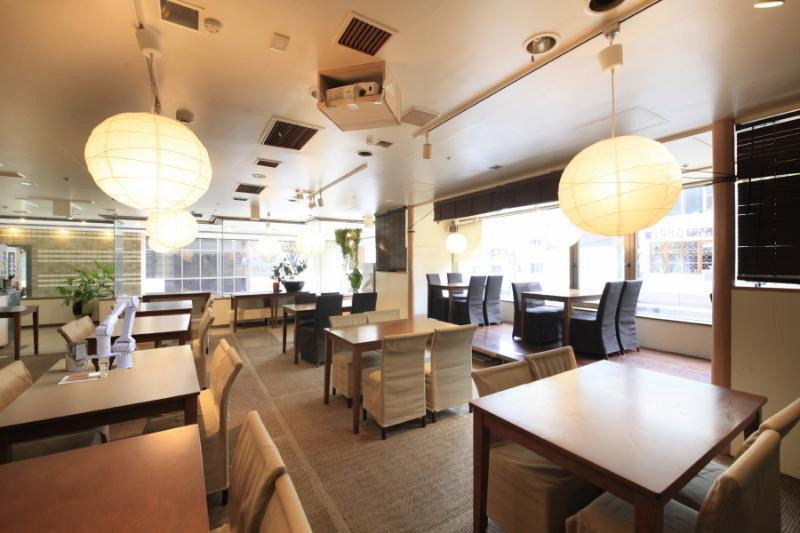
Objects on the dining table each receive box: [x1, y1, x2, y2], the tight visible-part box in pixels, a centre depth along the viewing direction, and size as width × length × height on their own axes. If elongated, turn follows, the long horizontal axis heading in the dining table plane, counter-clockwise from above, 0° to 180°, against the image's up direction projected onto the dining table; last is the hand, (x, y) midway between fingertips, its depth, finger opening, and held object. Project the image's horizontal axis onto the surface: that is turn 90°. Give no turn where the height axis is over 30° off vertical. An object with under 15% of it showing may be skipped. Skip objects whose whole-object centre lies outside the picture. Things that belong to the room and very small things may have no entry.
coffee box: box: [64, 341, 89, 372], centre depth 201 cm, size 9×6×16 cm
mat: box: [57, 371, 100, 385], centre depth 187 cm, size 14×16×1 cm
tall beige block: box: [99, 360, 109, 379], centre depth 190 cm, size 6×2×8 cm, turn 32°
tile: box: [67, 372, 89, 382], centre depth 186 cm, size 2×8×6 cm
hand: (103, 370), depth 190 cm, fingers open, 5 cm apart
